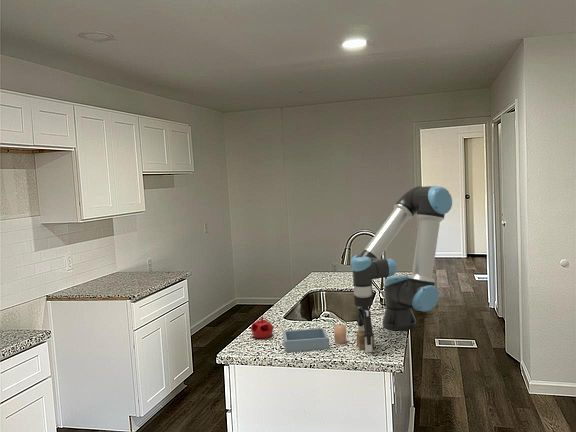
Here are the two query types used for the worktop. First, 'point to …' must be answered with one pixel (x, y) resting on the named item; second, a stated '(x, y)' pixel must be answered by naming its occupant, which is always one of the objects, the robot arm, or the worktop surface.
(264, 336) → the pomegranate
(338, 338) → the terracotta cylinder
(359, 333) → the walnut cube
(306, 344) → the tote
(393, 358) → the worktop surface
